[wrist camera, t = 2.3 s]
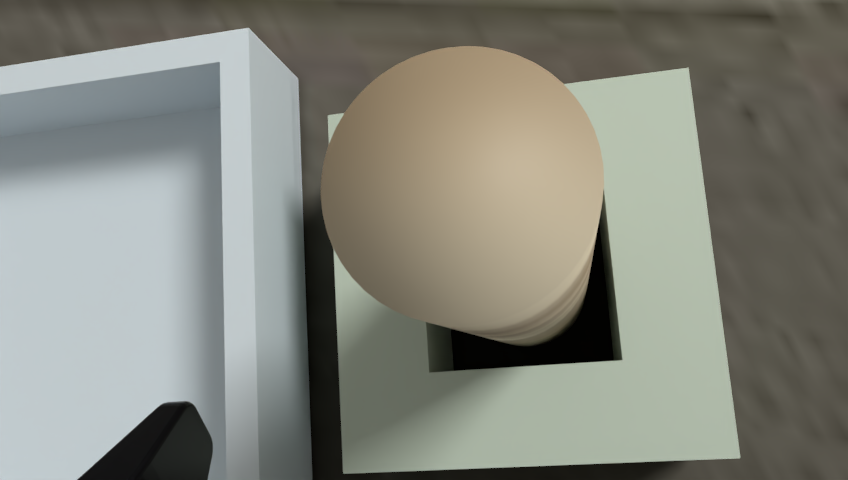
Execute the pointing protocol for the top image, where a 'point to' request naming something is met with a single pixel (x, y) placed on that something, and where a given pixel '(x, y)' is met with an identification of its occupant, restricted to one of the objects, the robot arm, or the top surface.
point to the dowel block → (572, 382)
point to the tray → (153, 255)
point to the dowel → (468, 194)
